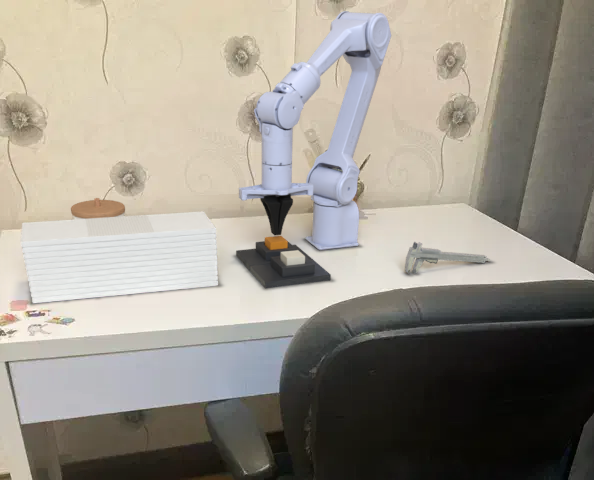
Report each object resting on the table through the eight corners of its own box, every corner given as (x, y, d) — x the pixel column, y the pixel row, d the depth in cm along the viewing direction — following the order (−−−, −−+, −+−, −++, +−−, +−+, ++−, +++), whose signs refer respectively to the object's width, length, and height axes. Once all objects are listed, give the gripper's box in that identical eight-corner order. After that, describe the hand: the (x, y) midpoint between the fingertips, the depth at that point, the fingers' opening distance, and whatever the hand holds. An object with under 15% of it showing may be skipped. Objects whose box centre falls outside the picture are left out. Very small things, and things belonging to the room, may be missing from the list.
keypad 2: (312, 264, 132) (312, 250, 130) (330, 280, 124) (331, 265, 123) (250, 271, 127) (250, 256, 126) (265, 288, 120) (265, 272, 119)
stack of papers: (32, 303, 112) (20, 241, 106) (33, 280, 120) (22, 222, 115) (218, 285, 121) (215, 227, 115) (206, 265, 129) (203, 211, 124)
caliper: (407, 275, 128) (410, 244, 125) (404, 273, 129) (407, 242, 125) (490, 262, 136) (495, 232, 132) (486, 260, 136) (492, 230, 133)
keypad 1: (295, 249, 139) (295, 235, 137) (311, 264, 132) (312, 249, 130) (236, 256, 135) (235, 241, 133) (249, 271, 127) (249, 256, 126)
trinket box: (65, 247, 136) (57, 201, 132) (97, 232, 145) (91, 189, 140) (108, 254, 133) (102, 208, 128) (138, 239, 142) (134, 195, 137)
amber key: (281, 243, 134) (281, 235, 133) (287, 249, 131) (287, 241, 130) (264, 245, 133) (264, 237, 132) (270, 251, 130) (270, 242, 129)
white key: (297, 258, 127) (298, 250, 126) (304, 265, 124) (305, 256, 123) (280, 260, 126) (280, 251, 125) (287, 267, 123) (287, 258, 122)
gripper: (246, 169, 118) (247, 243, 125) (320, 165, 123) (317, 236, 130) (234, 161, 123) (236, 232, 131) (306, 157, 128) (304, 226, 135)
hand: (276, 233), depth 131 cm, fingers closed
